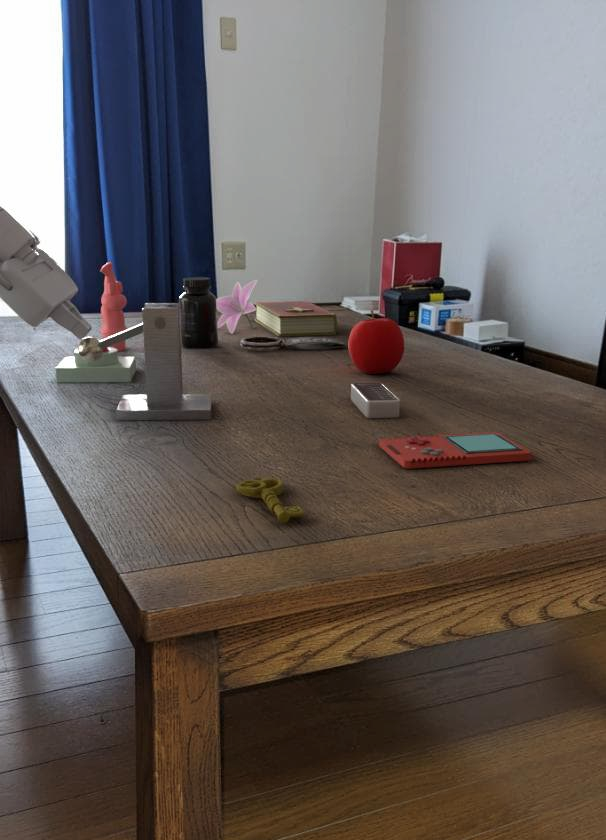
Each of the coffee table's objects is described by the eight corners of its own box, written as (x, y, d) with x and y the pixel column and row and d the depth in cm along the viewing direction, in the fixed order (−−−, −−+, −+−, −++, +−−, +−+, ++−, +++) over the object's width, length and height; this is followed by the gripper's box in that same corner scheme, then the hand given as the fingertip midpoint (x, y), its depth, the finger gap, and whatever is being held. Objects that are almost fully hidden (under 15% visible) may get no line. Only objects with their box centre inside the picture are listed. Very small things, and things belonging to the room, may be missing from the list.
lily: (214, 329, 190) (197, 290, 183) (265, 306, 190) (249, 266, 183) (227, 356, 181) (210, 317, 174) (280, 332, 181) (265, 292, 175)
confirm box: (56, 382, 135) (54, 356, 134) (66, 370, 144) (64, 345, 142) (130, 382, 136) (128, 355, 135) (136, 370, 145) (134, 345, 143)
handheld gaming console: (378, 436, 105) (496, 429, 108) (378, 446, 105) (496, 439, 109) (405, 459, 97) (532, 450, 100) (405, 469, 97) (531, 461, 101)
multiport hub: (367, 418, 117) (367, 401, 117) (350, 399, 127) (350, 383, 127) (399, 417, 118) (400, 400, 117) (380, 398, 128) (381, 382, 127)
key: (308, 509, 81) (253, 513, 80) (307, 522, 82) (254, 527, 80) (278, 472, 92) (230, 475, 91) (278, 484, 92) (230, 487, 91)
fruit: (351, 365, 150) (353, 304, 146) (405, 368, 149) (409, 306, 145) (342, 376, 142) (344, 311, 138) (399, 379, 140) (403, 314, 136)
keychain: (347, 350, 162) (347, 339, 162) (242, 352, 160) (242, 341, 159) (338, 343, 170) (339, 332, 169) (238, 345, 167) (237, 334, 166)
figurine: (120, 352, 158) (114, 264, 153) (94, 350, 160) (88, 263, 154) (134, 348, 163) (129, 261, 157) (109, 346, 164) (103, 260, 159)
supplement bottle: (197, 340, 170) (195, 275, 166) (225, 344, 167) (224, 277, 162) (173, 345, 165) (170, 278, 161) (200, 350, 162) (198, 281, 157)
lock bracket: (116, 420, 115) (109, 310, 110) (124, 403, 123) (117, 301, 118) (210, 419, 116) (207, 310, 111) (211, 403, 124) (208, 301, 119)
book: (307, 318, 198) (307, 299, 196) (336, 334, 179) (337, 312, 178) (254, 320, 195) (254, 300, 193) (278, 336, 176) (278, 314, 174)
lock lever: (83, 368, 115) (71, 344, 114) (86, 363, 118) (75, 340, 117) (176, 329, 114) (165, 305, 113) (177, 325, 117) (167, 302, 116)
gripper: (-5, 239, 100) (91, 329, 104) (33, 230, 119) (113, 306, 123) (-40, 281, 101) (56, 367, 106) (3, 265, 120) (83, 338, 125)
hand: (87, 334), depth 115 cm, fingers closed
